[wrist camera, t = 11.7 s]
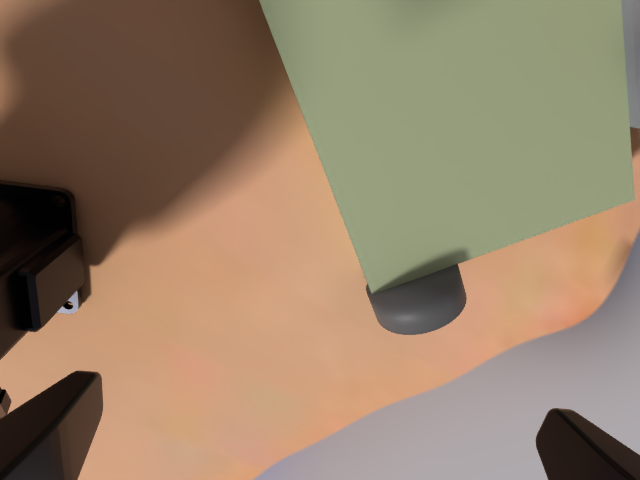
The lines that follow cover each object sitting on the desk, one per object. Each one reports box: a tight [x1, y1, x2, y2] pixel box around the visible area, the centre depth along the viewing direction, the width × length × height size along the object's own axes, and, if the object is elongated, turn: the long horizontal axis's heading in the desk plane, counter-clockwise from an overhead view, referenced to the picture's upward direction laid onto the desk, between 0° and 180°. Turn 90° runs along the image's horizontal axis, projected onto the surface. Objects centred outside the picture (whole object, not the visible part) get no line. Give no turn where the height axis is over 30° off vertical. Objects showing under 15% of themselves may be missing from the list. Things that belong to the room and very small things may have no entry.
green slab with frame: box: [259, 0, 640, 335], centre depth 16 cm, size 22×19×4 cm
